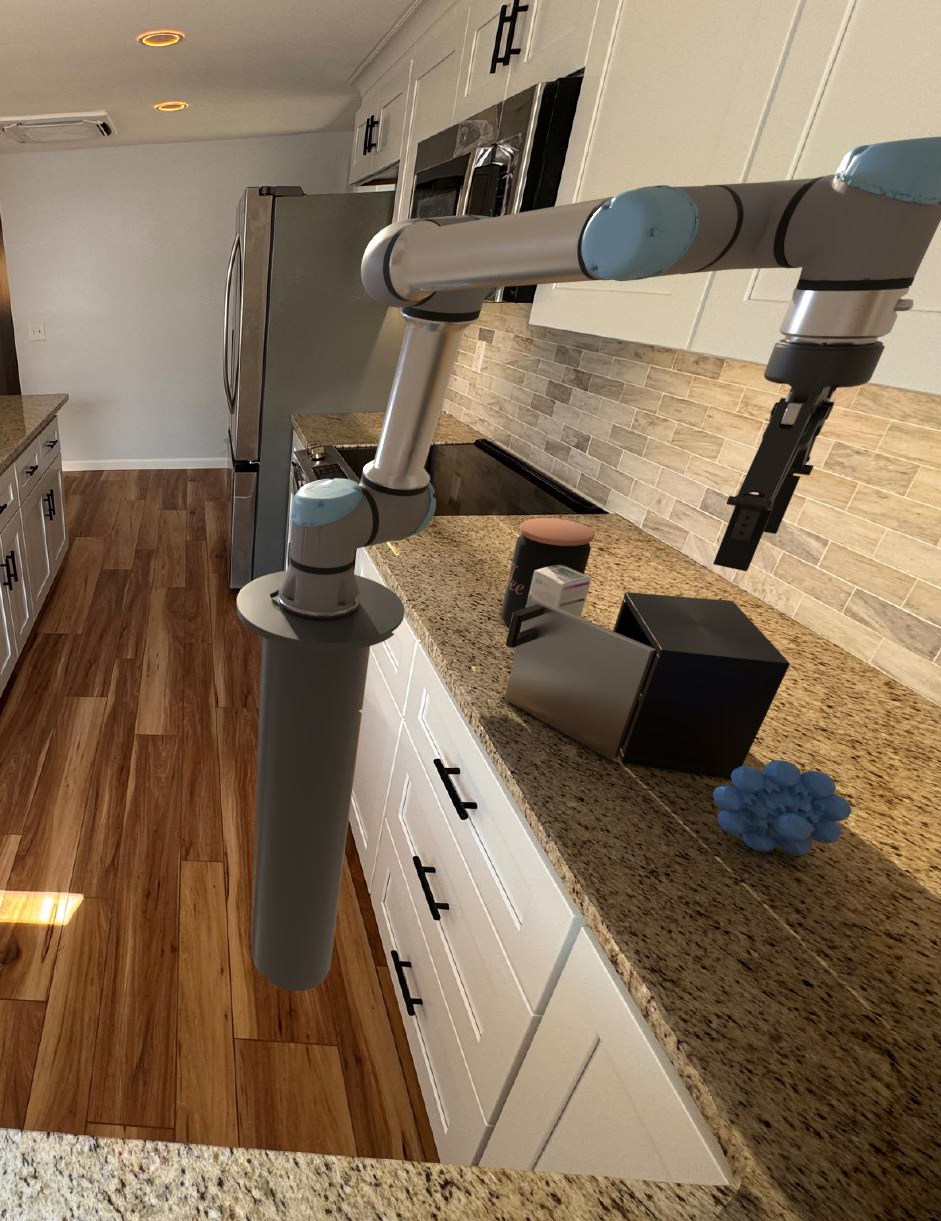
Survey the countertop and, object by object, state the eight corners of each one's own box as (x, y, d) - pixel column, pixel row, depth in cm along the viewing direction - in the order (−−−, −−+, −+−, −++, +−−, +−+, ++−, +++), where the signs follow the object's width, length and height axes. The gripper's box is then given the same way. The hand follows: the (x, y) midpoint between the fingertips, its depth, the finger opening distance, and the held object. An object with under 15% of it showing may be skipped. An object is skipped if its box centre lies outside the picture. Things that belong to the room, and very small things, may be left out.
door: (586, 774, 85) (623, 662, 77) (479, 709, 98) (501, 608, 90) (617, 759, 87) (656, 649, 79) (508, 697, 100) (533, 597, 92)
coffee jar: (504, 605, 125) (525, 514, 117) (571, 618, 120) (597, 523, 111) (494, 629, 118) (515, 534, 110) (564, 644, 112) (592, 545, 104)
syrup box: (571, 657, 109) (594, 576, 102) (542, 664, 107) (563, 583, 101) (542, 640, 114) (563, 562, 107) (514, 647, 112) (533, 569, 106)
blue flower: (710, 868, 72) (751, 783, 66) (685, 823, 77) (721, 740, 72) (848, 892, 68) (904, 803, 62) (811, 842, 74) (860, 757, 68)
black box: (621, 762, 87) (661, 649, 79) (592, 693, 100) (625, 591, 92) (736, 780, 83) (790, 663, 75) (690, 706, 96) (733, 600, 88)
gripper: (868, 358, 53) (765, 596, 63) (903, 325, 67) (814, 524, 77) (747, 353, 58) (669, 573, 68) (802, 323, 72) (731, 510, 82)
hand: (746, 548), depth 73 cm, fingers open, 13 cm apart
